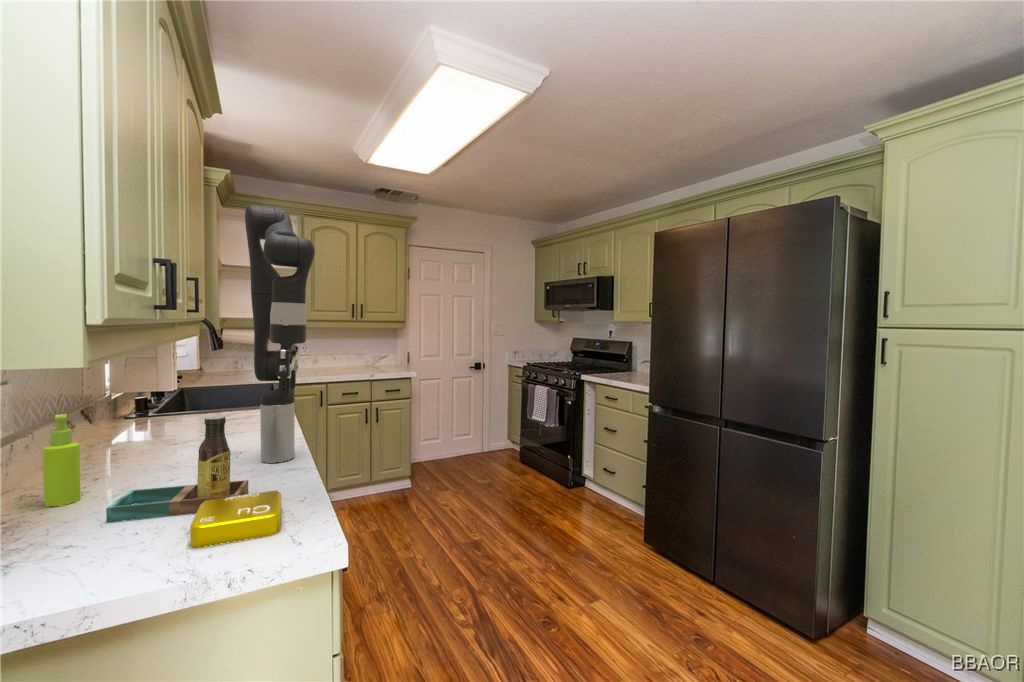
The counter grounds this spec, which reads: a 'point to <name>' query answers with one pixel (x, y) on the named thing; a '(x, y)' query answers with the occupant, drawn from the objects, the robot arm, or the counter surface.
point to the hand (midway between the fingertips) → (287, 391)
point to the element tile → (236, 519)
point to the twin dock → (174, 498)
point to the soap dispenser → (61, 466)
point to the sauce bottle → (214, 460)
